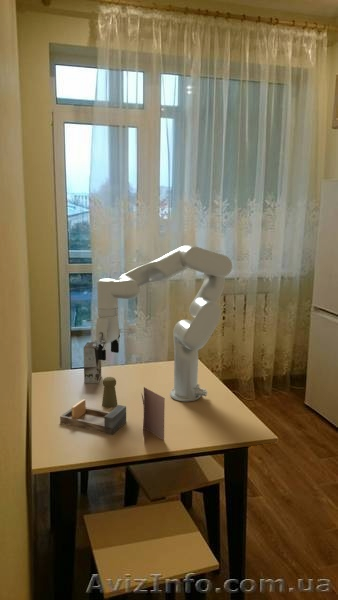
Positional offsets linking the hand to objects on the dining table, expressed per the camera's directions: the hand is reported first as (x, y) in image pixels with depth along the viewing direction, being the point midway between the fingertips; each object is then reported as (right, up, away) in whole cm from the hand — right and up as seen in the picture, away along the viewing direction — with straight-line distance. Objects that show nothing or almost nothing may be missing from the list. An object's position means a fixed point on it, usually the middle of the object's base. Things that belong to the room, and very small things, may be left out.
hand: (108, 355), depth 164 cm
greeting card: (+17, -25, -19) cm, 36 cm away
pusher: (-9, -21, -8) cm, 24 cm away
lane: (-4, -22, -10) cm, 25 cm away
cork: (0, -20, +4) cm, 20 cm away
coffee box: (-11, -15, +30) cm, 35 cm away
